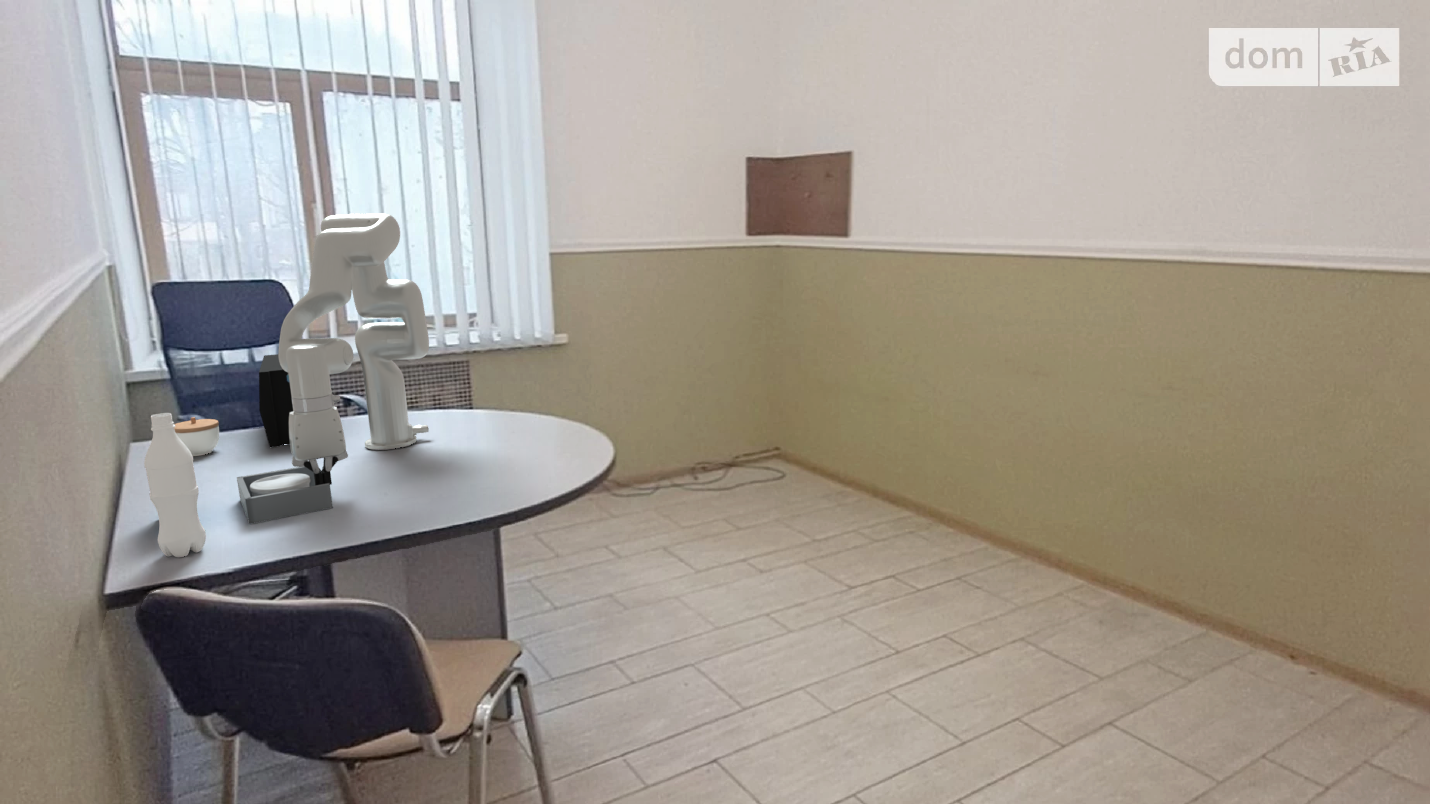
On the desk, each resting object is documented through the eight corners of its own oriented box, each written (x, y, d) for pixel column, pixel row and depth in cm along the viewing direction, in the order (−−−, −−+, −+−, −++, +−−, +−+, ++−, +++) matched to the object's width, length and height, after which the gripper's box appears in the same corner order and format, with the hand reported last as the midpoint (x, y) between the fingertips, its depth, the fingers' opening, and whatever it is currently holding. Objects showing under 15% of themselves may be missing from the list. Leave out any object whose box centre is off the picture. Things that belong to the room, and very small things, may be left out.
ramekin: (288, 493, 181) (285, 470, 180) (325, 499, 176) (322, 475, 175) (240, 510, 171) (236, 485, 170) (278, 517, 166) (274, 492, 165)
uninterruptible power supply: (264, 448, 218) (253, 372, 214) (269, 421, 248) (259, 354, 244) (333, 439, 225) (324, 366, 221) (330, 415, 255) (321, 349, 251)
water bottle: (173, 563, 144) (148, 421, 139) (152, 555, 148) (127, 417, 143) (216, 549, 150) (193, 412, 145) (195, 541, 154) (172, 408, 149)
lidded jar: (224, 445, 222) (219, 411, 220) (220, 455, 213) (215, 419, 211) (177, 451, 218) (171, 416, 216) (171, 461, 208) (164, 424, 206)
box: (317, 486, 185) (314, 464, 184) (332, 507, 171) (329, 484, 169) (240, 500, 177) (236, 477, 176) (249, 524, 162) (245, 499, 161)
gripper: (347, 396, 181) (357, 478, 185) (270, 406, 173) (282, 491, 176) (355, 402, 175) (365, 486, 178) (275, 412, 166) (287, 501, 170)
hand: (324, 489), depth 177 cm, fingers closed
